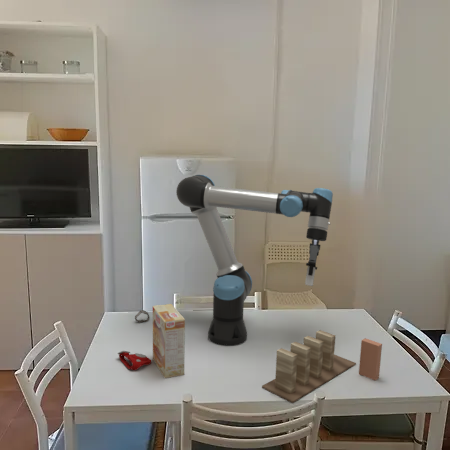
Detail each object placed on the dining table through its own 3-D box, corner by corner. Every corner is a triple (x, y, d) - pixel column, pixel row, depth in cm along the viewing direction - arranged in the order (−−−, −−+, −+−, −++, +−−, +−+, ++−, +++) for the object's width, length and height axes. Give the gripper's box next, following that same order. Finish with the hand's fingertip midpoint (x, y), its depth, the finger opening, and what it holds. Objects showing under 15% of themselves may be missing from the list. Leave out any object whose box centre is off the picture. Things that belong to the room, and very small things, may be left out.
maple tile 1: (329, 371, 157) (331, 337, 155) (314, 365, 161) (316, 332, 159) (333, 369, 159) (335, 335, 156) (318, 362, 163) (320, 330, 160)
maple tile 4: (290, 393, 142) (292, 357, 140) (275, 386, 146) (276, 350, 144) (295, 391, 144) (297, 354, 142) (279, 383, 148) (281, 348, 146)
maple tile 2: (317, 378, 152) (319, 343, 150) (301, 371, 156) (303, 337, 154) (321, 375, 154) (323, 341, 151) (306, 369, 158) (308, 335, 156)
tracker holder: (153, 355, 165) (150, 361, 155) (150, 367, 164) (147, 375, 154) (120, 346, 164) (114, 352, 154) (116, 359, 164) (111, 365, 154)
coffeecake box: (152, 358, 164) (151, 305, 160) (171, 355, 167) (172, 303, 163) (163, 379, 150) (164, 321, 147) (185, 375, 153) (185, 318, 150)
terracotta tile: (375, 380, 153) (378, 346, 151) (358, 373, 157) (361, 340, 155) (378, 378, 154) (382, 344, 152) (362, 371, 159) (365, 338, 156)
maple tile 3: (304, 385, 147) (306, 350, 145) (288, 378, 151) (290, 343, 149) (308, 383, 149) (310, 347, 147) (293, 376, 153) (295, 341, 151)
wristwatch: (150, 321, 196) (150, 310, 195) (136, 324, 193) (136, 313, 192) (147, 319, 199) (147, 307, 198) (133, 321, 196) (133, 310, 195)
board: (292, 403, 138) (292, 401, 138) (261, 387, 147) (261, 385, 147) (355, 364, 163) (356, 362, 163) (326, 352, 172) (326, 351, 172)
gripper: (328, 226, 165) (319, 286, 162) (326, 235, 189) (318, 287, 186) (307, 222, 166) (297, 282, 164) (308, 232, 190) (300, 284, 188)
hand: (309, 285), depth 175 cm, fingers open, 13 cm apart
